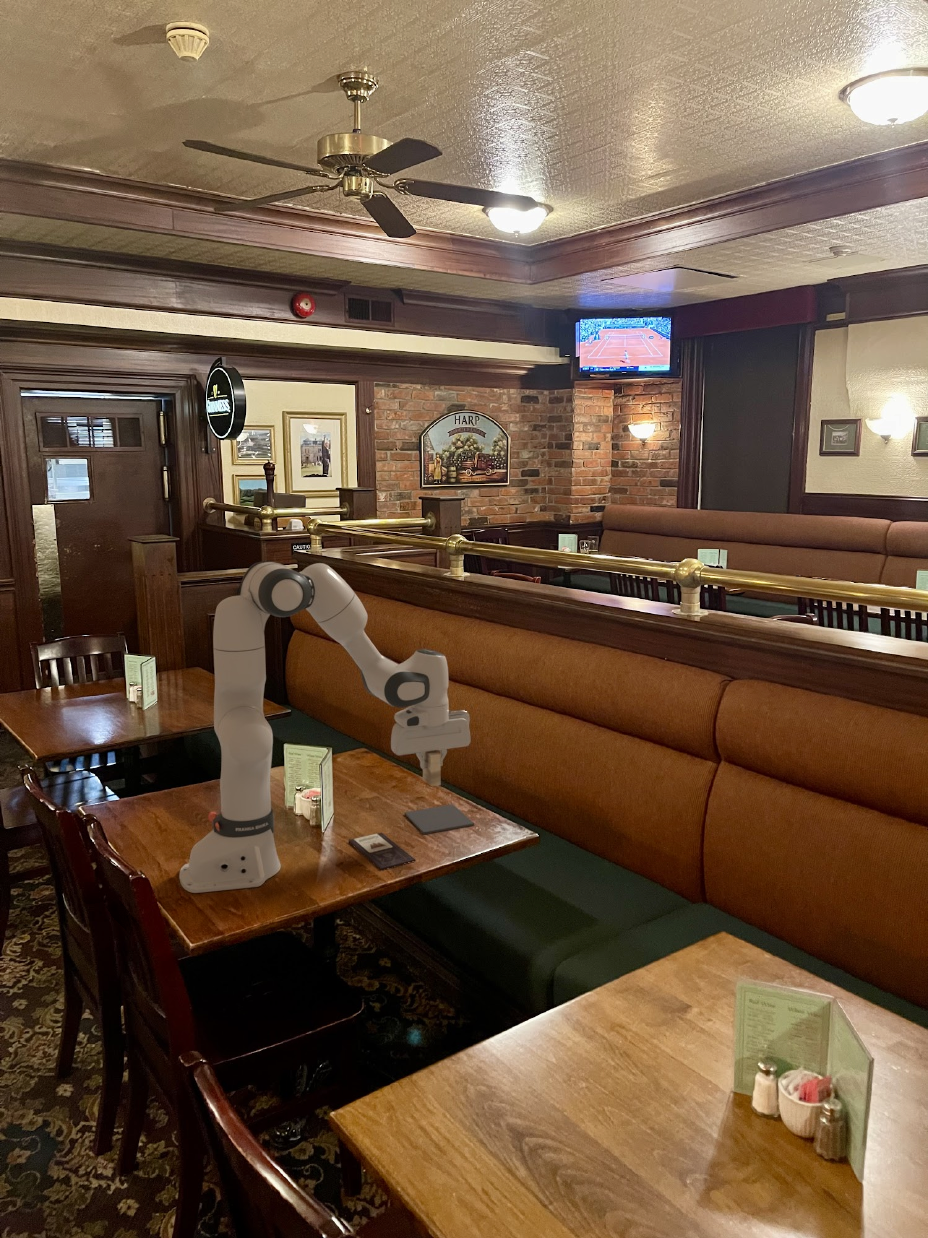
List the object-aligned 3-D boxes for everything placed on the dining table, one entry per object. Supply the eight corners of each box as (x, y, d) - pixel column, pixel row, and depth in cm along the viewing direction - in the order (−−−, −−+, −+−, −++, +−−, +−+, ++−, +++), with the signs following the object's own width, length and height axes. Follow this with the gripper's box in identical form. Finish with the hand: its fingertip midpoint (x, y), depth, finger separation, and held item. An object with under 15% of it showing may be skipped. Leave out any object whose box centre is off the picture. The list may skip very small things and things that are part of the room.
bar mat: (423, 834, 231) (423, 832, 230) (404, 814, 243) (404, 812, 243) (474, 825, 236) (474, 823, 236) (453, 806, 249) (453, 804, 249)
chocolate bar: (381, 868, 211) (348, 840, 226) (381, 872, 211) (348, 843, 226) (415, 859, 215) (381, 832, 231) (415, 863, 216) (381, 836, 231)
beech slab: (440, 785, 228) (440, 754, 226) (431, 786, 227) (430, 755, 225) (432, 777, 233) (431, 747, 232) (422, 778, 232) (422, 748, 231)
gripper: (464, 705, 234) (464, 757, 236) (388, 714, 226) (389, 768, 228) (474, 712, 228) (474, 765, 230) (396, 721, 220) (397, 776, 223)
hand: (431, 766), depth 229 cm, fingers closed on beech slab, 2 cm apart
